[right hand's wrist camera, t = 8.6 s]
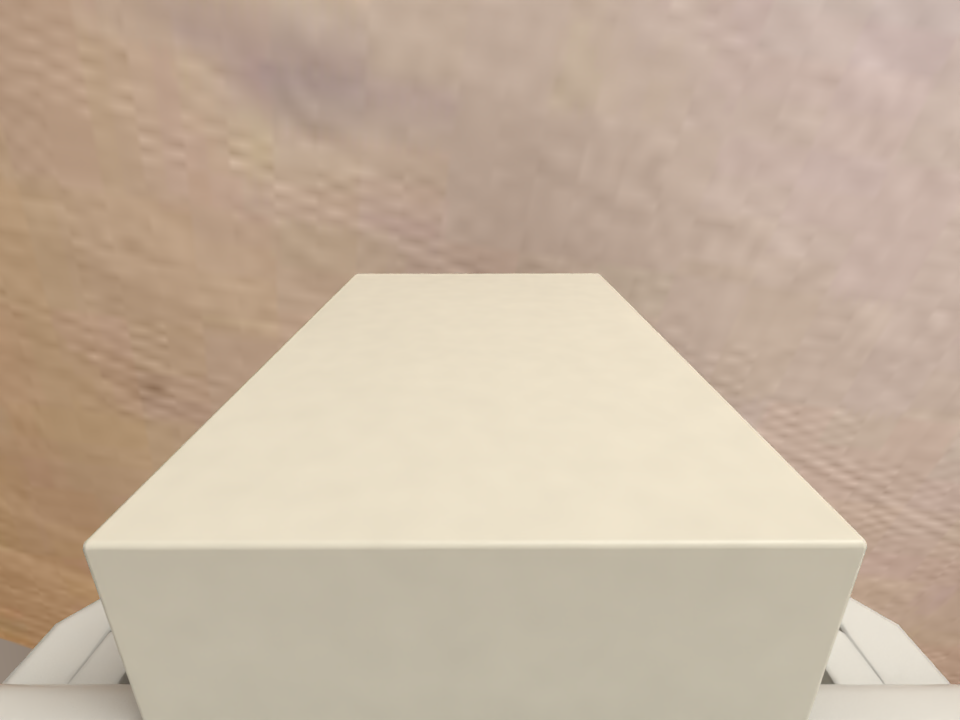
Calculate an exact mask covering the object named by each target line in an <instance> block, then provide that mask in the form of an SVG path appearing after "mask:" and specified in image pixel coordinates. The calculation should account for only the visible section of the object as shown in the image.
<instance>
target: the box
mask: <svg viewBox="0 0 960 720" xmlns="http://www.w3.org/2000/svg"><path fill="white" fill-rule="evenodd" d="M866 548H867V545H866V542H865V540H864V539H863V538H862V537H861V536H860V535H859V534H858V533H857V532H856V531H855V530H854V529H853V528H852V527H851V526H850V525H849V524H848V523H847V522H846V521H845V520H844V519H843V518H842V517H841V516H840V515H839V514H838V513H837V512H836V511H835V510H834V509H833V508H832V507H831V506H830V505H829V504H828V503H827V502H826V501H825V500H824V499H823V498H822V497H821V496H820V495H819V494H818V493H817V492H816V491H815V490H814V489H813V488H812V487H811V486H810V485H809V484H808V483H807V482H806V481H805V480H804V479H803V478H802V477H801V476H800V475H799V474H798V473H797V472H796V471H795V470H794V468H793V467H792V466H791V465H790V464H789V463H788V462H787V461H786V460H785V459H784V458H783V457H782V456H781V455H780V454H779V453H778V452H777V451H776V450H775V449H774V448H773V447H772V446H771V445H770V444H769V443H768V442H767V441H766V440H765V439H764V438H763V437H762V436H761V435H760V434H759V433H758V432H757V431H756V430H755V429H754V428H753V427H752V426H751V425H750V424H749V423H748V422H747V421H746V420H745V419H744V418H743V417H742V416H741V415H740V414H739V413H738V412H737V411H736V410H735V409H734V408H733V407H732V406H731V405H730V404H729V403H728V402H727V401H726V400H725V399H724V398H723V397H722V396H721V395H720V394H719V393H718V392H717V391H716V390H715V389H714V388H713V387H712V386H711V385H710V384H709V383H708V382H707V381H706V380H705V379H704V378H703V377H702V376H701V375H700V374H699V373H698V372H697V371H696V370H695V369H694V368H693V367H692V366H691V365H690V364H689V363H688V362H687V361H686V360H685V359H684V358H683V357H682V356H681V355H680V354H679V353H678V352H677V351H676V350H675V349H674V348H673V347H672V346H671V345H670V344H669V343H668V342H667V341H666V340H665V339H664V338H663V337H662V336H661V335H660V334H659V333H658V332H657V331H656V330H655V329H654V328H653V327H652V326H651V325H650V324H649V323H648V322H647V321H646V320H645V319H644V318H643V317H642V316H641V315H640V314H639V313H638V312H637V311H636V310H635V309H634V308H633V307H632V306H631V305H630V304H629V303H628V302H627V301H626V300H625V299H624V298H623V297H622V296H621V295H620V294H619V293H618V292H617V291H616V290H615V289H614V288H613V287H612V286H611V285H610V284H609V283H608V282H607V281H606V280H605V279H604V278H603V277H602V276H601V275H600V274H355V275H354V276H353V277H352V278H351V279H350V280H349V281H348V282H347V283H346V284H345V285H344V286H343V287H342V288H341V289H340V290H339V291H338V292H337V293H336V294H335V295H334V296H333V297H332V298H331V299H330V300H329V301H328V302H327V303H326V304H325V305H324V306H323V307H322V308H321V309H320V310H319V311H318V312H317V313H316V314H315V315H314V316H313V317H312V318H311V319H310V320H309V321H308V322H307V323H306V324H305V325H304V326H303V327H302V328H301V329H300V330H299V331H298V332H297V333H296V334H295V335H294V336H293V337H292V338H291V339H290V340H289V341H288V342H287V343H286V344H285V345H284V346H283V347H282V348H281V349H279V350H278V351H277V352H276V353H275V354H274V355H273V356H272V357H271V358H270V359H269V360H268V361H267V362H266V363H265V364H264V365H263V366H262V367H261V368H260V369H259V370H258V371H257V372H256V373H255V374H254V375H253V376H252V377H251V378H250V379H249V380H248V381H247V382H246V383H245V384H244V385H243V386H242V387H241V388H240V389H239V390H238V391H237V392H236V393H235V394H234V395H233V396H232V397H231V398H230V399H229V400H228V401H227V402H226V403H225V404H224V405H223V406H222V407H221V408H220V409H219V410H218V411H217V412H216V413H215V414H214V415H213V416H212V417H211V418H210V419H209V420H208V421H207V422H206V423H205V424H204V425H203V426H202V427H201V428H200V429H199V430H198V431H197V432H196V433H194V434H193V435H192V436H191V437H190V438H189V439H188V440H187V441H186V442H185V443H184V444H183V445H182V446H181V447H180V448H179V449H178V450H177V451H176V452H175V453H174V454H173V455H172V456H171V457H170V458H169V459H168V460H167V461H166V462H165V463H164V464H163V465H162V466H161V467H160V468H159V469H158V470H157V471H156V472H155V473H154V474H153V475H152V476H151V477H150V478H149V479H148V480H147V481H146V482H145V483H144V484H143V485H142V486H141V487H140V488H139V489H138V490H137V491H136V492H135V493H134V494H133V495H132V496H131V497H130V498H129V499H128V500H127V501H126V502H125V503H124V504H123V505H122V506H121V507H120V508H119V509H118V510H117V511H116V512H115V513H114V514H113V515H112V516H111V517H109V518H108V519H107V520H106V521H105V522H104V523H103V524H102V525H101V526H100V527H99V528H98V529H97V530H96V531H95V532H94V533H93V534H92V535H91V536H90V537H89V538H88V539H87V540H86V541H85V543H84V545H83V551H84V554H85V557H86V560H87V563H88V566H89V569H90V571H91V574H92V577H93V580H94V583H95V586H96V588H97V591H98V594H99V597H100V600H101V603H102V606H103V608H104V611H105V614H106V617H107V620H108V623H109V625H110V628H111V631H112V634H113V637H114V640H115V643H116V645H117V648H118V651H119V654H120V657H121V660H122V662H123V665H124V668H125V671H126V674H127V677H128V680H129V682H130V685H131V688H132V691H133V694H134V697H135V699H136V702H137V705H138V708H139V711H140V714H141V717H142V719H143V720H808V719H809V716H810V713H811V710H812V707H813V704H814V701H815V698H816V695H817V692H818V689H819V687H820V684H821V681H822V678H823V675H824V672H825V669H826V666H827V663H828V660H829V657H830V654H831V651H832V648H833V645H834V642H835V639H836V637H837V634H838V631H839V628H840V625H841V622H842V619H843V616H844V613H845V610H846V607H847V604H848V601H849V598H850V595H851V592H852V589H853V586H854V584H855V581H856V578H857V575H858V572H859V569H860V566H861V563H862V560H863V557H864V554H865V551H866Z"/></svg>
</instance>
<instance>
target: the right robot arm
mask: <svg viewBox="0 0 960 720" xmlns="http://www.w3.org/2000/svg"><path fill="white" fill-rule="evenodd" d="M0 720H143V719H142V717H141V714H140V711H139V708H138V705H137V702H136V699H135V697H134V694H133V691H132V688H131V685H130V682H129V680H128V677H127V674H126V671H125V668H124V665H123V662H122V660H121V657H120V654H119V651H118V648H117V645H116V643H115V640H114V637H113V634H112V631H111V628H110V625H109V623H108V620H107V617H106V614H105V611H104V608H103V606H102V603H101V600H100V599H99V600H97V601H95V602H94V603H92V604H90V605H88V606H87V607H85V608H83V609H81V610H80V611H78V612H76V613H74V614H72V615H71V616H69V617H67V618H65V619H64V620H62V621H60V622H58V623H57V624H55V625H54V627H53V628H52V629H51V630H50V631H49V632H48V633H47V634H46V635H45V636H44V638H43V639H42V640H41V641H40V642H39V643H38V644H37V645H36V646H35V648H34V649H33V650H32V651H31V652H30V653H29V654H28V655H27V656H26V657H25V659H24V660H23V661H22V662H21V663H20V664H19V665H18V666H17V667H16V669H15V670H14V671H13V672H12V673H11V674H10V675H9V676H8V677H7V679H6V680H5V681H4V682H3V683H2V684H0ZM808 720H960V684H950V683H949V682H948V680H947V679H946V678H945V677H944V676H943V675H942V674H941V672H940V671H939V670H938V669H937V668H936V667H935V666H934V665H933V663H932V662H931V661H930V660H929V659H928V658H927V657H926V656H925V654H924V653H923V652H922V651H921V650H920V649H919V648H918V646H917V645H916V644H915V643H914V642H913V641H912V640H911V639H910V637H909V636H908V635H907V634H906V633H905V632H904V631H903V630H902V628H901V627H900V626H899V625H898V624H896V623H894V622H893V621H891V620H889V619H887V618H886V617H884V616H882V615H880V614H879V613H877V612H875V611H873V610H872V609H870V608H868V607H866V606H865V605H863V604H861V603H860V602H858V601H856V600H854V599H853V598H851V597H850V598H849V601H848V604H847V607H846V610H845V613H844V616H843V619H842V622H841V625H840V628H839V631H838V634H837V637H836V639H835V642H834V645H833V648H832V651H831V654H830V657H829V660H828V663H827V666H826V669H825V672H824V675H823V678H822V681H821V684H820V687H819V689H818V692H817V695H816V698H815V701H814V704H813V707H812V710H811V713H810V716H809V719H808Z"/></svg>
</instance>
